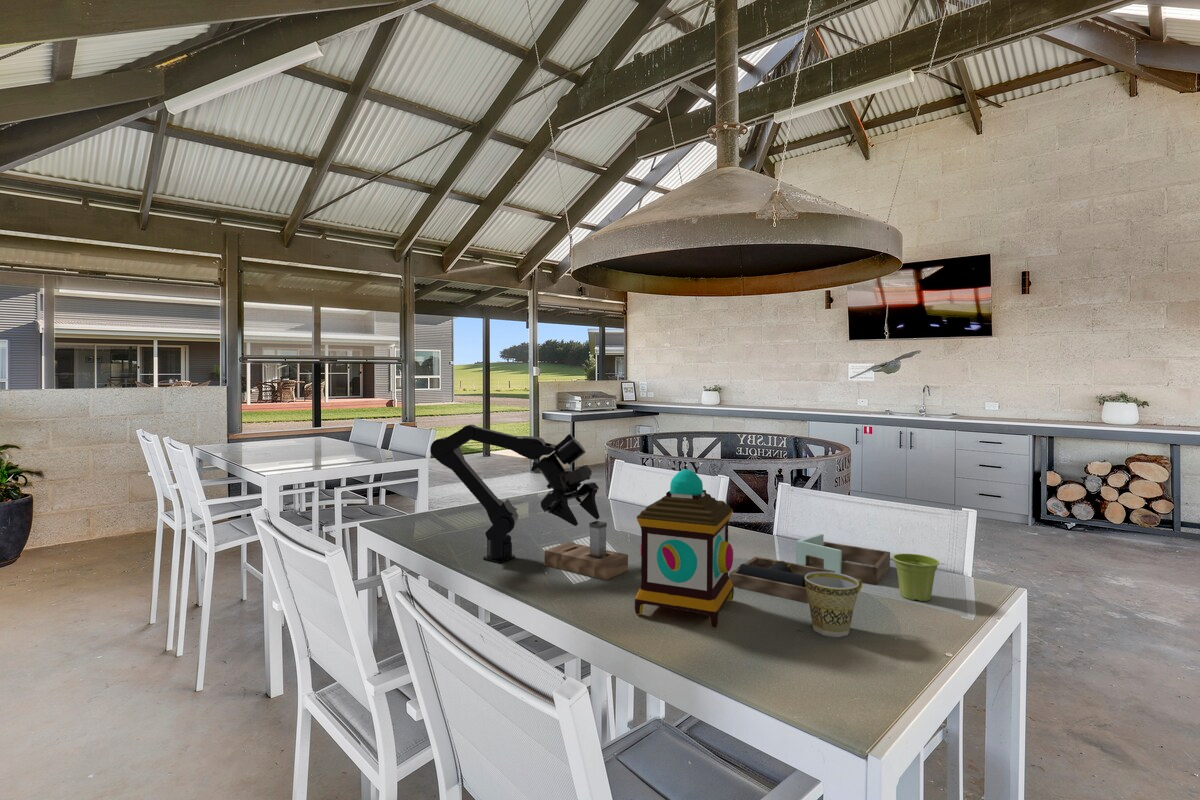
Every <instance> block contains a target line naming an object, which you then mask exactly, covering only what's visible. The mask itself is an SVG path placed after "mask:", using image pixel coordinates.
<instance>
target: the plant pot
mask: <svg viewBox="0 0 1200 800" xmlns="http://www.w3.org/2000/svg"><path fill="white" fill-rule="evenodd" d="M892 559H893V561H894V566H895V567H896V572H897V573H896V574H897V580H898V586H899V587H898V589H899V593H900V595H901V597H903V598H905V599H907V600H911V601H914V600H918V601H920V602H926V601H930V600H932V599H931V598H932V592H933V587H934V582H935V581H934V580H935V575H936V571H937V570H938V566H939V565H940V561H939V560H938V559H937V558H934V557H931V556H927V555H923V554H918V553H917V554H916V553H896V554H893V555H892Z"/></svg>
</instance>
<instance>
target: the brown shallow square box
mask: <svg viewBox="0 0 1200 800" xmlns="http://www.w3.org/2000/svg"><path fill="white" fill-rule="evenodd" d="M822 546H825V547H830V548H834V549H838V550H842V562H841V574H844V575H847V576H850V577H852V578H858V579H860V580H861V582H862V583H867V584H870V585H871V584H872V585H876V586H877V585H878V584H879V583H880V582H881V580H882V579H883V578H884V576H885V575H886V573H887V572H888V570H889V569H890V568H891V552H890V551H887V550H879V549H873V548H867V547H860V546H854V545H847V544H842V543H834V542H829V541H828V542H827V541H823V545H822ZM806 566H811V567H816V568H822V569H824V559H822V558H818V557H814V556H810V555H806Z"/></svg>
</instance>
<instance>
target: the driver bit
mask: <svg viewBox="0 0 1200 800" xmlns="http://www.w3.org/2000/svg"><path fill="white" fill-rule="evenodd" d="M607 525H608V523H607V522H606V521H605V522H604V521H599V520H596V521H595V520H594V521H592V522H589V547H590V557H593V558H597V559H602V558H604V557H606V550H607V527H608V526H607Z"/></svg>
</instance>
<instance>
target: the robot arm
mask: <svg viewBox="0 0 1200 800" xmlns="http://www.w3.org/2000/svg"><path fill="white" fill-rule="evenodd" d="M469 441H474V442H478V443H482V444H486V445H489V446H495V447H498V448H504V449H507V450H510V451H512V452H514V453H516V454H518V455H520V456H522V457H524V458H526V459H528V460H531V461H535V460H538V459H540V460H538V461H537V462H532V466H531V469H530V472H532V473H533V474H534V473H535V474H539V473H541V474H542V475H543V477H544V478H545V480H546V482H547V483H548V484H547V485H546V487H547V489H548V490H550V491H548V493H546V495H545V496H544V497H543V498H542V499H541V500H540V508H541V509H542V511H543V512H544V513H545V512H548V513H549V514H551V515H553V516H556V517H558V518H560V519H561V520H564V521H566V522H568V523H569V524H570V525H572V526H574V527H577V526H578V524H579V522H578V520H577V518H576V516H575V515H574V513H573V511H572V510H571V508H570V506H569V503H568V502H569V500H573V499H575V500H576V501H577V502H578V503H579V504H578V505H579V506H580V507H581V508H582V509H584V510H585V511H586V512H587V513H588V514H589V515H590V516H591V517H593V519H595V520H599V519H600V514H599V510H598V506H597V503H596V494H597V493H598V490H599V489H600V488H599V486H598V485H597V482H593V481H591V482H586V483H583V484H582V482H584V481H588V480H590V479H591V476H592V473H593V471H592V469H590V467H589V466H588V465H587V464H585V465H582V466H579V467H578V468H577V469H574V470H572V471H571V470H566V469H565V468H564V466H563V465H569V466H571V465H572V464H574V462H576V461H577V460H578V459H579V458H581V457H582V456H583V455H585V454H586V451H587V450H585V448H584V446H583V445H582V444H581V443H580V442H579V441H578V440H577V439H576V438H575V437H574V436H573V435H572V434H571V433H569V434H567V436H565V438H564V439H562V440H560V442H559V443H557V444H554V443H549V442H545V440H544V439H543V438H542V437H539V436H529V435H528V436H527V435H525V436H524V435H513V434H510V433H509V434H508V433H504V432H501V431H498V430H497V431H496V430H493V429H489V428H484V427H480V426H477V425H475V424H468V425H465V426H463V427H462V428H461V429H459V430H458V431H455V432H454V433H452V434H450V435H449V436H444V437H441V438H438V439H435V440H434V441H433V442H432V443H431V445H430V449H429V452H430V455H431V456H432V457H433V458H434V459H435V460H436V461H437V462H439V463H440V464H441V465H443V466H445V467H446V468H448V469H449V470H451V471H452V472H453V473H454V474H455V475H456V477H457V478H458V479H459V480H460V481H461V482H462V483H463V485H464V486H465V487H466V489H467V490H468V491H469V492H470V493H471V494H472V495H473V496H474V498H475V499H476V500H477V501H478V502H479V503H480V505H481V506H483V508H484V509H485V511H486V514H487V516H488V519H489V521H490V523H491V524H492V525H491V526H490V527H488V529H487V530H486V531H485V534H484V535H485V537H486V539H487V540H486V542H487V544H486V551H487V552H486V553H487V555H484V556H482V559H483V560H487V561H491V562H494V563H498V564H500V563H502V562H506V561H509V560H511V559H514V558H516V555H514V554H513V542H512V536H511V535H510V533H511V532H512V531H513V529H514V528H515V527H516V526H517V525H518V522H519V513H518V512H517V510H518V508H516V507H514V505H513V504H512V503H511V501H510V500H509V499H508V498H507V499H505V501H503V500H501V499H500V498H498V497H497V495H495V493H494V492H493V490H491V488H490V487H489V486H488V485H487V483H485V482H484V481H483V479H482V478H481V477H480V476H479V474H478V473H477V472H476V471H475V470H474V469H473V468H472V466H471V465H470V464H469V463H468V462H467V461H466V459H465V456H464V454H463V451H462V449H461V447H462V446H463V445H465V444H467V443H468V442H469ZM542 456H543V457H542ZM546 456H547V457H546ZM561 463H562V464H561ZM579 487H580V488H579ZM578 488H579V489H578Z"/></svg>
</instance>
